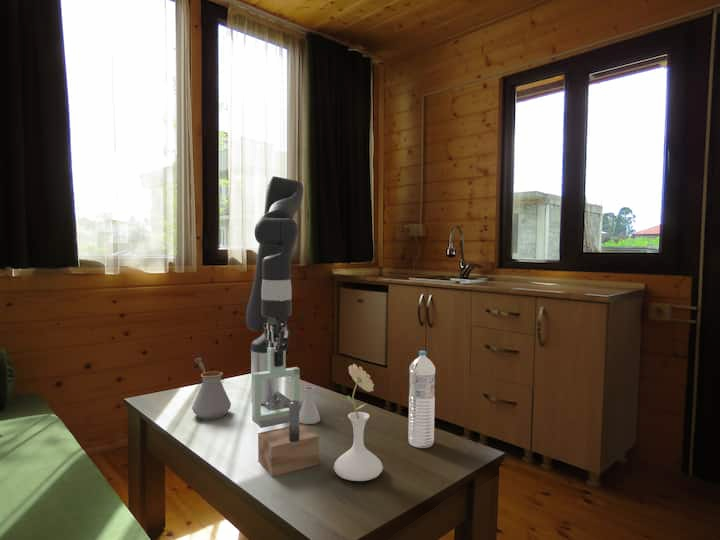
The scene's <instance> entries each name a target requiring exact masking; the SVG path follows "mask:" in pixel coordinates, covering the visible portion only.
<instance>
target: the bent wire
mask: <svg viewBox="0 0 720 540" xmlns="http://www.w3.org/2000/svg"><path fill="white" fill-rule="evenodd" d="M277 398H279V400H281V401H282V402H284V404H286V405H288V408H289V423H288V427H289V441H291V442H297V441H299V424H300V423H299V401H296V400H294V401H291V399H290V398H288V397H287V396H286V395H284V394H283V393H281V392H280V390H279V391H276V392H275V393H274V395H273V397H272V399H271V401H270V403H269V402H267V401H265V402H264V404H263V405H264V406H265V407H266V408H267V409H268V410H272V408H273V406H274V405H275V403H276V402H275V401H276V399H277Z"/></svg>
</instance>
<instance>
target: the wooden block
mask: <svg viewBox="0 0 720 540" xmlns="http://www.w3.org/2000/svg"><path fill="white" fill-rule="evenodd" d="M257 435H258V436H257V438H258V439H257V445H258V446H257V448H258V450H257V460H258V461H257V462H260V463H261V464H260V463H259V464H260V465H261V466H262V467H263V468H265V469H266V470H267V471H268V472H269V473H268V472H267V471H266V470H265V469H264V470H265V471H266V472H267V473H268V475H269V476H270V475H271V476H273V477H275V475H277V476H280V475H284V474H287V473H291V472H296V471H299V470H303V469H306V468H310V467H315V466H318V465H319V464H320V461H319V460H320V457H319V456H320V435H318V434H317V433H316V432H315V431H313V429H311V428H309V427H308V426H307V424H302V423H299V441H297V442H291V441H289V426H286V427H281V428H276V429H271V430H267V431H266V430H265V431H260V432H258V433H257ZM271 476H270V477H271Z"/></svg>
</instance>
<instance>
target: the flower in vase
mask: <svg viewBox="0 0 720 540" xmlns="http://www.w3.org/2000/svg"><path fill="white" fill-rule="evenodd" d="M348 373H349V376H351V378H352V380H353V381H354V382H355V386H354V389H353V391H352V396H350V395H347V396H346V399H345V400H347V402H348V401H349V402H350V403H351V404H352V405H353V407H354V412H350V413H349V414H348V415H347V418H348V419H349V420H350V422H351V425H352V430H353V444H352V446H351V448H350V449H348V450H347V451H346V452H344V453H343V454H340V456H339V457H338V458H337V459H336V460H335V462H334V464H333V471H334V472H335V473H336V475H337V476H339V477H340V478H341V479H344V480H347V481H351V482H352V481H353V482H365V481H370V480H374V479H375V478H377V477H379V475H381V473H382V472H383V469H384V466H383V463H382V461H381V460H380V459H379V458H378V457H377V455H375V454H374V453H372V451H370V450H368V449H367V448H366V447H365V444H364V434H365V433H364V432H365V427H366V423H367V421H368V420H369V419H370V414H369V413H368V412H363V411H358V410H360V409H362V408H363V407H365V406H366V405H368V403H367V402H365V403H364V404H361V405H359V406H358V407H356V403H355V399H354V397H355V393H356V389H357V386H358V387H359V388H361V389H362V390H363V391H366V392H374V387H375V384H374V383H373V380H372V379H371V375H369V373H367V372H366V370H363V367H362V366H359V367H358V366H357V364H355V363H353V364H352V365H349V366H348Z"/></svg>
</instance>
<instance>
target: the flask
mask: <svg viewBox="0 0 720 540" xmlns="http://www.w3.org/2000/svg"><path fill="white" fill-rule="evenodd" d="M303 391H304V396H303V401H302V404H301V407H300V414H299V424H304V425H314V424H317V423H319V422H320V421H321V416H320V413H319V410H318V408H317V405H316V402H315V398H314V391H315V387H314V386H304V387H303Z"/></svg>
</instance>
